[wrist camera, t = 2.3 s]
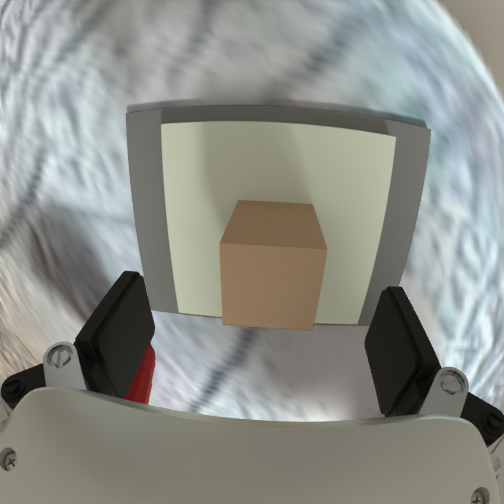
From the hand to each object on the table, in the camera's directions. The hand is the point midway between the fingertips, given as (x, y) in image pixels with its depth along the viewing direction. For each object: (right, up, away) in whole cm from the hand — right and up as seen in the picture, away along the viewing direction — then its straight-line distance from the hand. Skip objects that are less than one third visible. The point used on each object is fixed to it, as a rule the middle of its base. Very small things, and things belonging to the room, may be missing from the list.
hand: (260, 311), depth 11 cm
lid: (+1, +4, +8) cm, 9 cm away
